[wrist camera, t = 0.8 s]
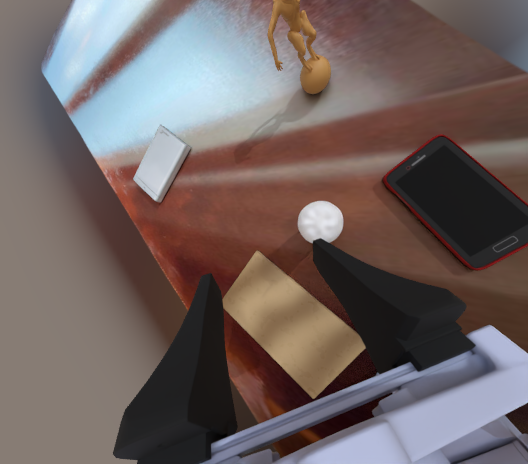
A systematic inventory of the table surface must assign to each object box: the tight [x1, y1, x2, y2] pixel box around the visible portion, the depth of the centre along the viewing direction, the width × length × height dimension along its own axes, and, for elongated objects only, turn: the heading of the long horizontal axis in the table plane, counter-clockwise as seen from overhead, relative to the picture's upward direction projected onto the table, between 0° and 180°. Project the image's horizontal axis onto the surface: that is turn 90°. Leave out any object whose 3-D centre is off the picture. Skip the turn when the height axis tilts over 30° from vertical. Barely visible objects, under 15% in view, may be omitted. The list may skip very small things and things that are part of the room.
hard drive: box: [133, 125, 191, 202], centre depth 37 cm, size 2×8×12 cm
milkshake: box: [298, 201, 343, 243], centre depth 22 cm, size 4×5×10 cm
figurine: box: [268, 0, 331, 94], centre depth 22 cm, size 8×6×12 cm
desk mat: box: [222, 250, 366, 399], centre depth 29 cm, size 20×12×1 cm, turn 54°
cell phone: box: [383, 134, 528, 270], centre depth 21 cm, size 8×15×1 cm, turn 40°
